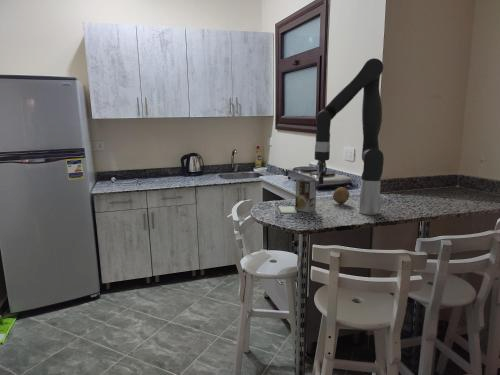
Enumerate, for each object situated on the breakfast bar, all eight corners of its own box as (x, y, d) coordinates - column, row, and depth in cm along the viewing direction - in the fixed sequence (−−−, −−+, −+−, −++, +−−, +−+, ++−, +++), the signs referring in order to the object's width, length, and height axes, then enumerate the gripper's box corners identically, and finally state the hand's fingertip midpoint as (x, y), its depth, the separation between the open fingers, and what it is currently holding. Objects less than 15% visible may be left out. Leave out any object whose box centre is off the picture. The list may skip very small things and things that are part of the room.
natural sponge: (349, 206, 195) (350, 189, 193) (332, 206, 197) (333, 188, 195) (348, 203, 204) (349, 186, 202) (332, 202, 206) (333, 185, 204)
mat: (293, 207, 193) (293, 206, 193) (297, 213, 181) (297, 212, 181) (278, 207, 193) (278, 206, 193) (281, 213, 181) (281, 212, 181)
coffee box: (315, 210, 187) (317, 180, 184) (309, 213, 182) (310, 181, 179) (301, 207, 193) (302, 178, 190) (294, 209, 188) (295, 179, 185)
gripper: (333, 151, 176) (331, 186, 179) (326, 149, 189) (324, 181, 192) (318, 151, 175) (316, 186, 179) (312, 149, 188) (310, 181, 191)
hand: (320, 183), depth 185 cm, fingers closed
